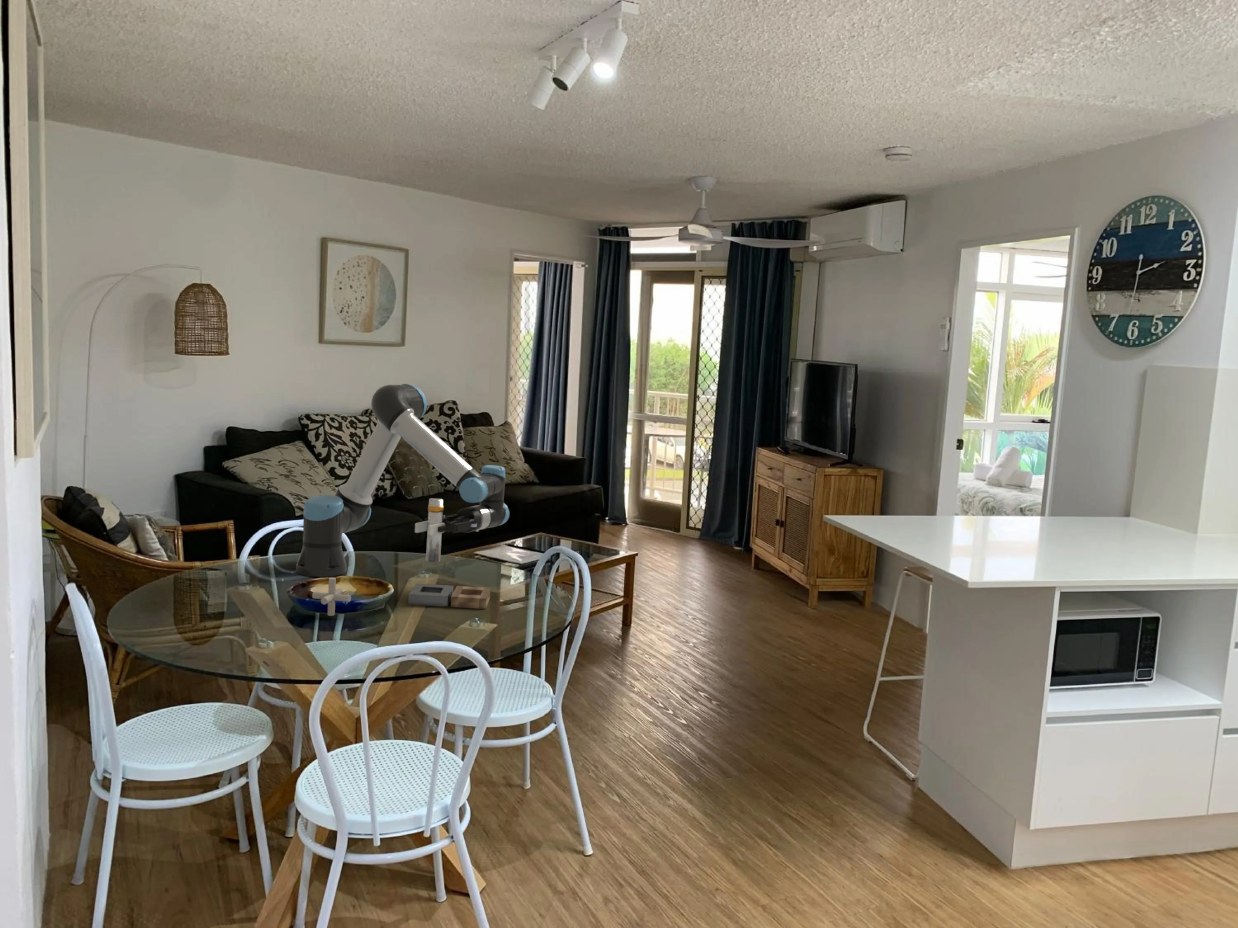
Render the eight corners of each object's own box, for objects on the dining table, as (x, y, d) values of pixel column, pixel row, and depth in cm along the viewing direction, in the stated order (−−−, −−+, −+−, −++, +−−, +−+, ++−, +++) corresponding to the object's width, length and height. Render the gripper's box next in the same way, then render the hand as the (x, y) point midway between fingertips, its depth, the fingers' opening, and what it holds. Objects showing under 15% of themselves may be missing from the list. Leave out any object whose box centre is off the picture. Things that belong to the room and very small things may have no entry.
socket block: (408, 604, 260) (408, 594, 260) (415, 593, 272) (416, 583, 272) (447, 606, 261) (447, 596, 261) (452, 595, 273) (453, 585, 272)
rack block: (450, 606, 261) (451, 596, 261) (456, 595, 273) (456, 585, 272) (485, 608, 261) (486, 598, 261) (489, 597, 273) (490, 587, 273)
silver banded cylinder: (424, 561, 263) (427, 500, 261) (426, 558, 267) (429, 497, 265) (439, 562, 263) (442, 501, 261) (441, 559, 267) (445, 498, 265)
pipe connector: (356, 611, 250) (357, 575, 249) (341, 621, 240) (343, 584, 239) (321, 607, 251) (322, 572, 250) (305, 618, 241) (306, 581, 240)
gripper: (494, 535, 276) (445, 547, 256) (449, 526, 284) (398, 537, 263) (496, 511, 276) (447, 520, 255) (450, 502, 283) (399, 511, 263)
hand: (422, 529), depth 259 cm, fingers closed on silver banded cylinder, 4 cm apart
